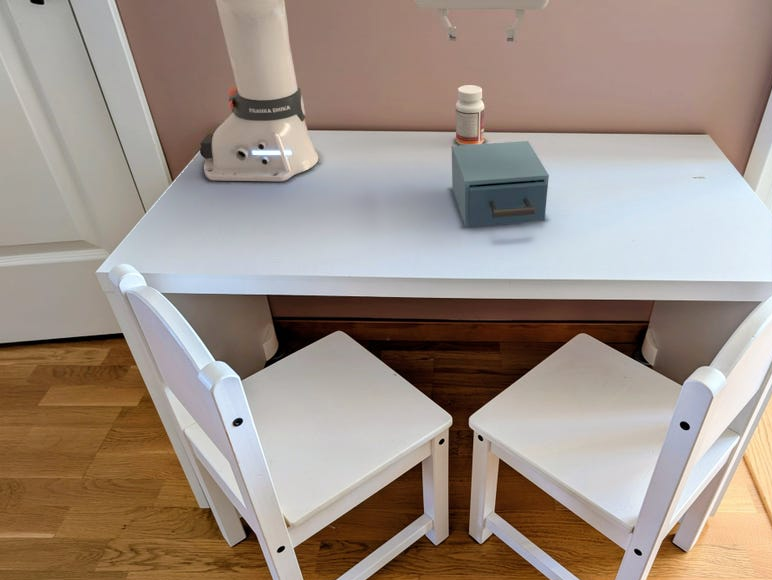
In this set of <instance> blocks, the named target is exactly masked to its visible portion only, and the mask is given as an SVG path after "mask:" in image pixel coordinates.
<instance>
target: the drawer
mask: <svg viewBox="0 0 772 580" xmlns="http://www.w3.org/2000/svg"><path fill="white" fill-rule="evenodd" d="M547 187H548V188H549V183H548V184H547V183H546V182H540V180H533V181H519V182H506V183H493V184H479V185H469V225H470V226H469V227H471V228H472V227H484V226H495V225H509V224H518V223H519V224H520V223H521V224H522V223H531V222H532V223H533V222H543V221H545V220H546V211H545V208H546V209H547V200H546V198H547V197H548V190H547ZM547 199H548V198H547ZM544 219H545V220H544Z"/></svg>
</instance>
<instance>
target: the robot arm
mask: <svg viewBox="0 0 772 580" xmlns="http://www.w3.org/2000/svg"><path fill="white" fill-rule="evenodd" d="M413 1H414V3H415V4H416V5H417V7H418V8H419V9H437V11H438V12H437V14H438V18H439V20H440V22H441V24H442V25H443V27H444V29H445V34H446V41H448V42H451V41H457V40H458V39H457V35H458V33H457V25H452V24H451V22H450V19H449V18H448V15H449V13H450V10H449V9H451V10H452V9H453V10H454V9H456V10H460V9H461V10H514V17H515V18H516V19H515V20H514V22H513V24H512V25H511V26H507V28H506V31H507V32H506V42H517V32H518V30H519V27H520V26H521V24H522V22H523V21H524V19H525V10H544V9H545V8H546V7H547V5H548V4H549V3H550V2H549V1H550V0H413ZM215 5H216V8H217V12H218V16H219V19H220V23H221V28H222V32H223V36H224V40H225V44H226V49H227V52H228V56H229V61H230V65H231V69H232V73H233V77H234V82H235V86H236V87H231V88H230V89H229V91H228V103H229V108H230V110H231V112H232V113H231V114H230V115H229V116H227V118H226V119H225V120H223V122H222V123H221V124H220V125H219V126H218V127H217V128H216V129H215V131H214V133H207V134H206V135H205V137H204V138H203V139H202V140H201V142H200V148H199V152H200V155H201V157H203V159H205V160H204V164H203V170H204V175H205V177H206V178H207V179H208V180H209V181H221V182H222V181H224V182H225V181H226V182H229V181H231V182H284V181H287V180H289V179H291V178H292V177H293V176H296V175H298V174H300V173H303V172H306V171H307V170H309V169H311V168H313V167H315V165H316V164H317V163H318V161H319V155H318V153H317V150H316V148H315V146H314V144H313V141H312V140H311V139H312V138H311V137H310V133H309V131H308V127H307V123H306V120H305V118H306V110H305V109H306V108H305V104H304V98H303V94H302V92H301V88H300V86H298V83H297V77H296V70H295V65H294V60H293V53H292V48H291V43H290V34H289V33H290V32H289V26H288V18H287V17H288V15H287V10H286V2H285V0H215Z"/></svg>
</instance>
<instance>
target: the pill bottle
mask: <svg viewBox="0 0 772 580" xmlns="http://www.w3.org/2000/svg"><path fill="white" fill-rule="evenodd" d="M457 99H458V100H457V101H456V103H455V141H456V143H457V144H458V145H475V144H484V143H483V142H484V141H485V140H484V139H485V103H484V101H483V100H482V99H483V89H482V87H481V86H479V85H474V84H466V85H461V86H459V87H458V88H457Z"/></svg>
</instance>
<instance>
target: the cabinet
mask: <svg viewBox="0 0 772 580" xmlns="http://www.w3.org/2000/svg"><path fill="white" fill-rule="evenodd" d="M549 178H550V174H549V173H548V171H547V170H546V168H545V166H544V165H543V163H542V161H541V160H540V158H539V156H538V155H537V153H536V152H535V149H534V148H533V146H532V145H531V143H530V142H529V140H524V141H523V140H522V141H508V142H507V141H505V142H493V143H482V144H475V145H460V144H458V145H452V146H451V182H452V183H451V185H452V192H453V195H454V199H455V201H456V204H457V206H458V210H459V213H460V217H461V219H462V222H463V224H464V227H467V228H468V227H470V225H469V185H479V184H493V183H506V182H519V181H533V180H540V182H546V183H547V184H548V185H549V180H550V179H549ZM548 189H549V186H548V187H547V191H549V190H548ZM547 199H548V198H546V201H547ZM546 209H547V207H546V208H545V212H547V211H546ZM545 220H546V218H545V219H544V221H545Z"/></svg>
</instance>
